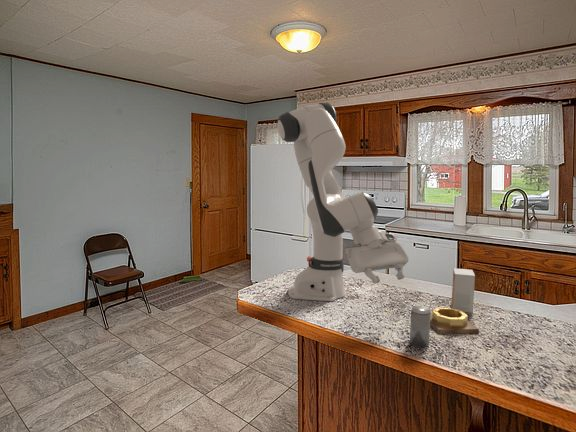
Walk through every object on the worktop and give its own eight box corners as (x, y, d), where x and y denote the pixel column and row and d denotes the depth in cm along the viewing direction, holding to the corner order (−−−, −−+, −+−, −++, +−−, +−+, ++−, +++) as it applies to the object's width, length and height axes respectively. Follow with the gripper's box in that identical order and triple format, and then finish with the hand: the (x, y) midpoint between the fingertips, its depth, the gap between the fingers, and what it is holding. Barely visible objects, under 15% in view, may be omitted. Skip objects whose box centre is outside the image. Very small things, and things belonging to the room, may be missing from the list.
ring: (441, 327, 107) (441, 319, 107) (428, 315, 116) (428, 307, 116) (471, 327, 107) (472, 319, 107) (456, 315, 116) (457, 307, 116)
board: (438, 333, 106) (438, 329, 105) (422, 317, 117) (422, 313, 117) (478, 333, 106) (479, 329, 106) (458, 316, 118) (459, 313, 118)
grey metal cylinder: (413, 347, 97) (415, 312, 96) (407, 339, 102) (408, 306, 101) (431, 347, 97) (433, 312, 96) (424, 338, 102) (426, 305, 101)
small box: (451, 302, 131) (453, 267, 129) (470, 305, 128) (473, 269, 127) (452, 310, 123) (454, 273, 122) (473, 313, 121) (475, 275, 119)
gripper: (347, 239, 109) (366, 279, 101) (399, 234, 118) (420, 271, 110) (338, 251, 113) (356, 290, 106) (389, 245, 122) (409, 281, 115)
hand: (389, 280), depth 108 cm, fingers open, 8 cm apart
